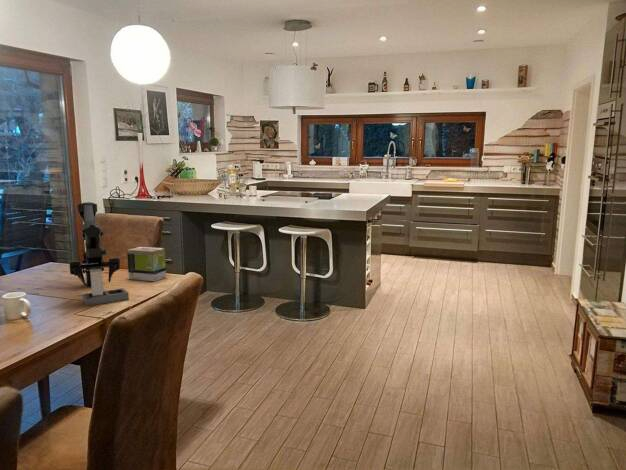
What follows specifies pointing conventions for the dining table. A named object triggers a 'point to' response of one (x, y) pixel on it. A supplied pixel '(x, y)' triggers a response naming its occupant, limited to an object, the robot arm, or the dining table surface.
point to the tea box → (146, 263)
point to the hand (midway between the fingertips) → (97, 283)
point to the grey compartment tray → (106, 297)
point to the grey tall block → (96, 281)
